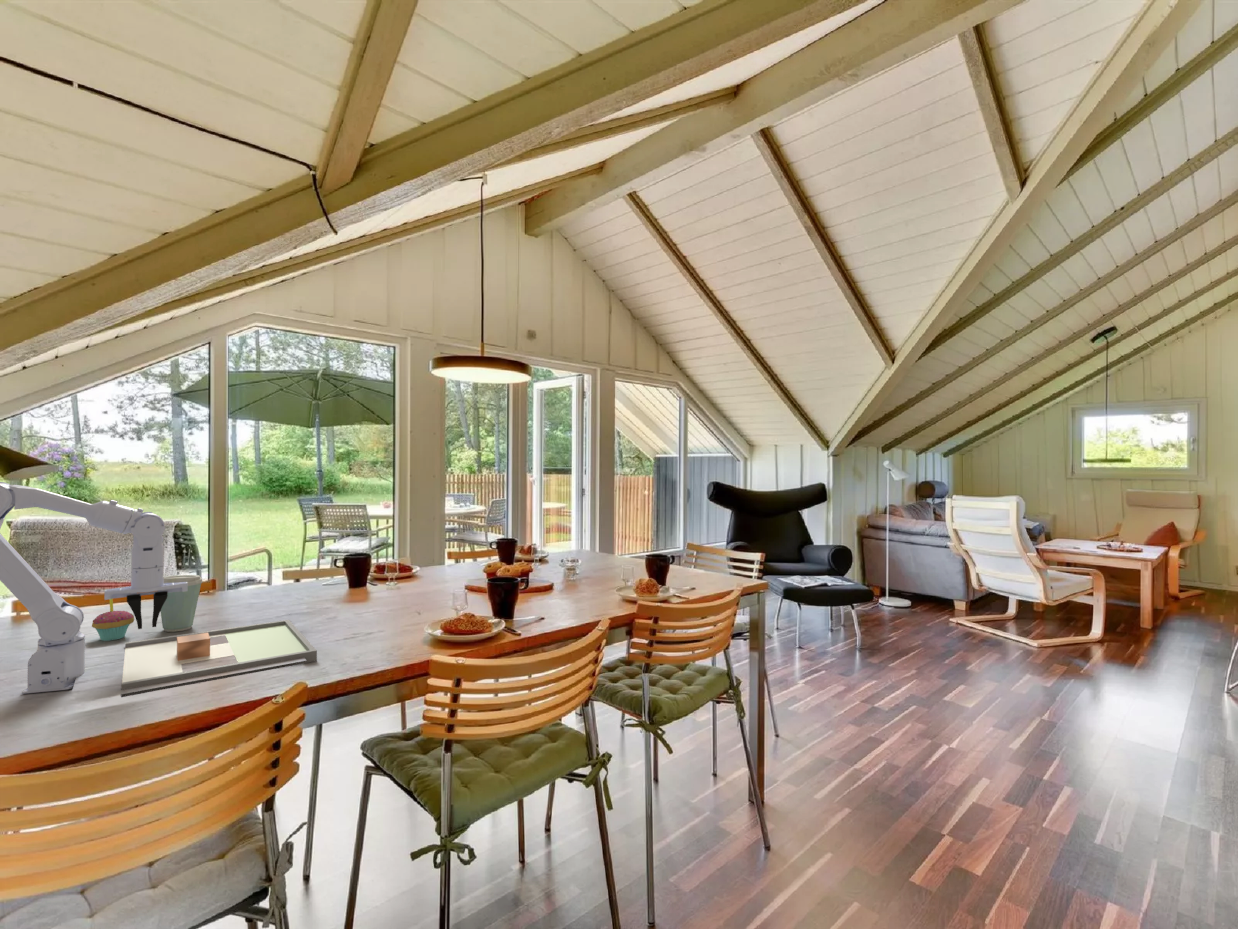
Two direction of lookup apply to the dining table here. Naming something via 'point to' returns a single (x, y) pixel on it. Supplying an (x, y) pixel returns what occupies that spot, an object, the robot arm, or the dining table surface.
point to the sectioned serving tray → (214, 654)
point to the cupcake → (112, 623)
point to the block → (193, 646)
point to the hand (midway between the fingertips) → (147, 627)
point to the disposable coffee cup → (180, 604)
